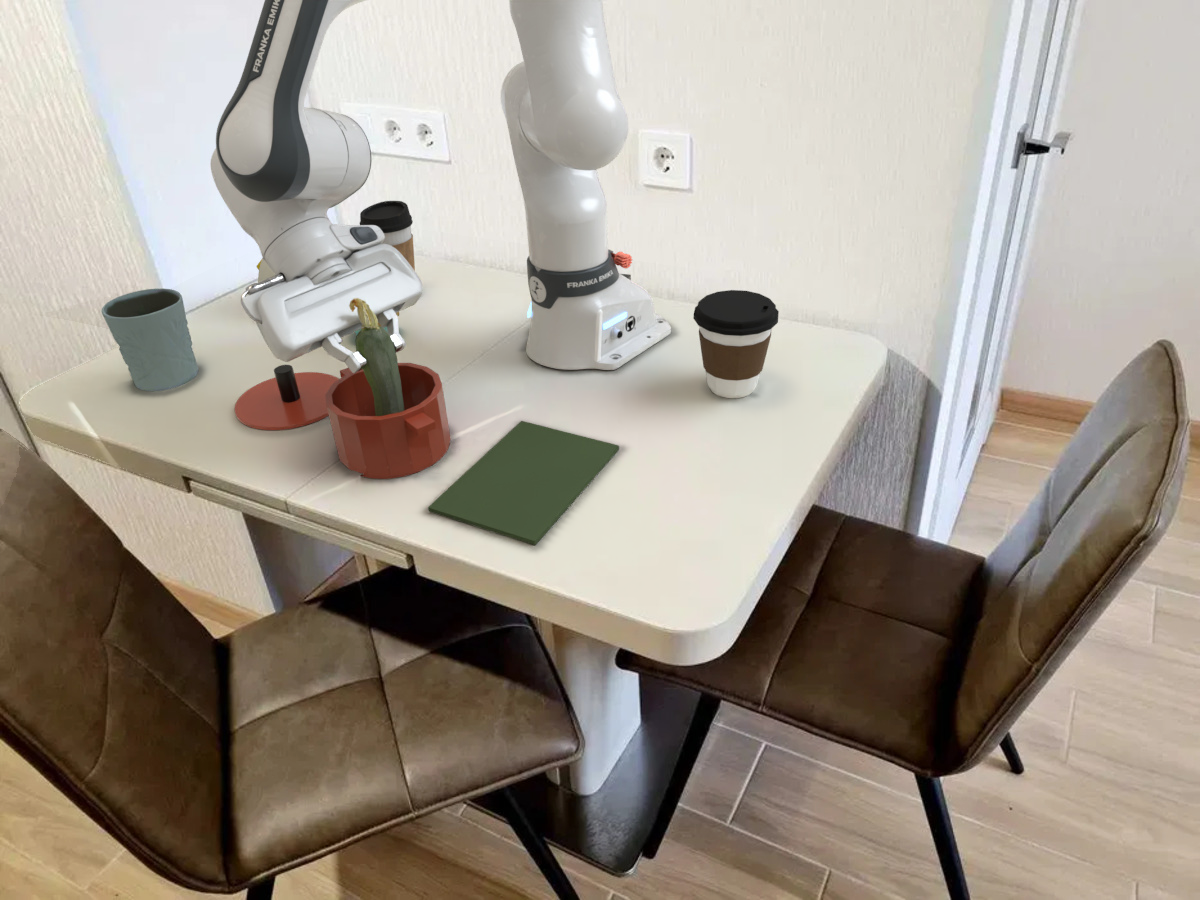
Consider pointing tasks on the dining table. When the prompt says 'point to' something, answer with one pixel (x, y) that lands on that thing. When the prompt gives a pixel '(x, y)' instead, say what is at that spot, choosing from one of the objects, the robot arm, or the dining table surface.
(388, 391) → the vegetable
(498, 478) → the mat
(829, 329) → the dining table surface
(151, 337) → the blue-grey cup
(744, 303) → the coffee cup
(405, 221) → the coffee cup
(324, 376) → the pot lid
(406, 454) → the pot
